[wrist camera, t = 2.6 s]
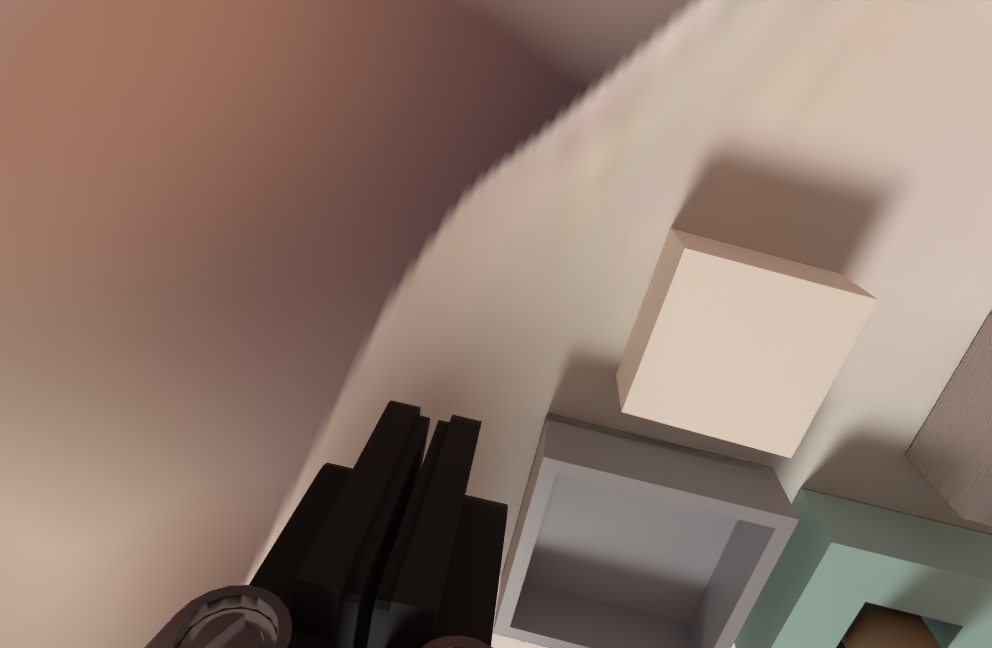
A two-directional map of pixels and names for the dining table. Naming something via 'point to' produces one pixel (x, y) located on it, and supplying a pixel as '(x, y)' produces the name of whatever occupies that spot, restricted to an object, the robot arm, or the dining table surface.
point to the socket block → (872, 577)
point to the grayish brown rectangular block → (962, 435)
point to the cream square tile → (738, 343)
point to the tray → (638, 543)
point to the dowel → (888, 629)
